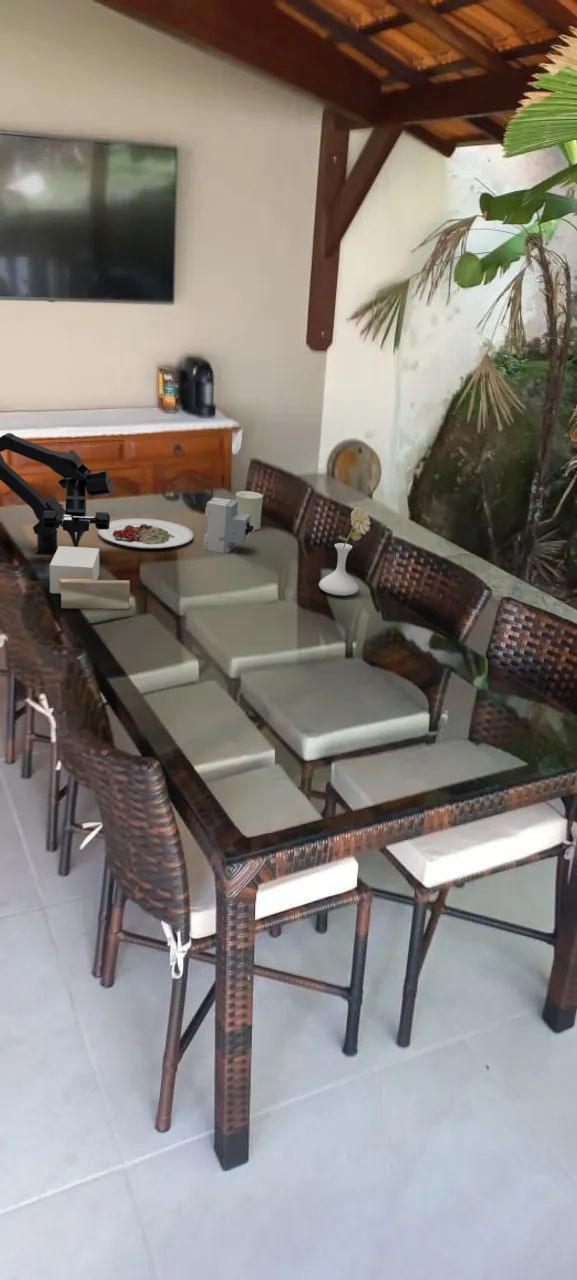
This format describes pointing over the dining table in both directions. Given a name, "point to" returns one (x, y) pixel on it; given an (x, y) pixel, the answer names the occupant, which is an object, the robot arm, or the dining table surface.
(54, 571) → the box
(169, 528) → the plated food
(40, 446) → the robot arm
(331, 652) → the dining table surface
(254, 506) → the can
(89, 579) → the rail latch
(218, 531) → the circuit breaker
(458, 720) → the dining table surface
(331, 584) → the flower in vase
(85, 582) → the board
